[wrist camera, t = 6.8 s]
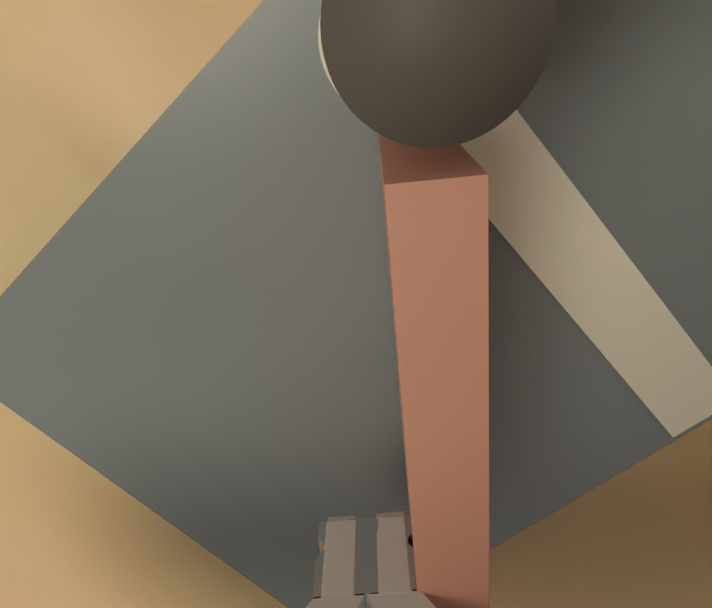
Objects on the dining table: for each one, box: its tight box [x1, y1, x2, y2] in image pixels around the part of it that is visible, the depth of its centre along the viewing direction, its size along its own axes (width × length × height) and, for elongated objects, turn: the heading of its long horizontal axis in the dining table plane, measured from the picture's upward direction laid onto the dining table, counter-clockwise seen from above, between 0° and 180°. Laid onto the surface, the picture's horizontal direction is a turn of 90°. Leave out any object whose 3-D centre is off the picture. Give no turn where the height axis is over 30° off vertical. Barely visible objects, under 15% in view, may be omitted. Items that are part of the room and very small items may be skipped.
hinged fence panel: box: [378, 134, 489, 608], centre depth 10 cm, size 10×1×5 cm, turn 6°
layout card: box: [0, 0, 712, 608], centre depth 11 cm, size 24×13×1 cm, turn 133°
